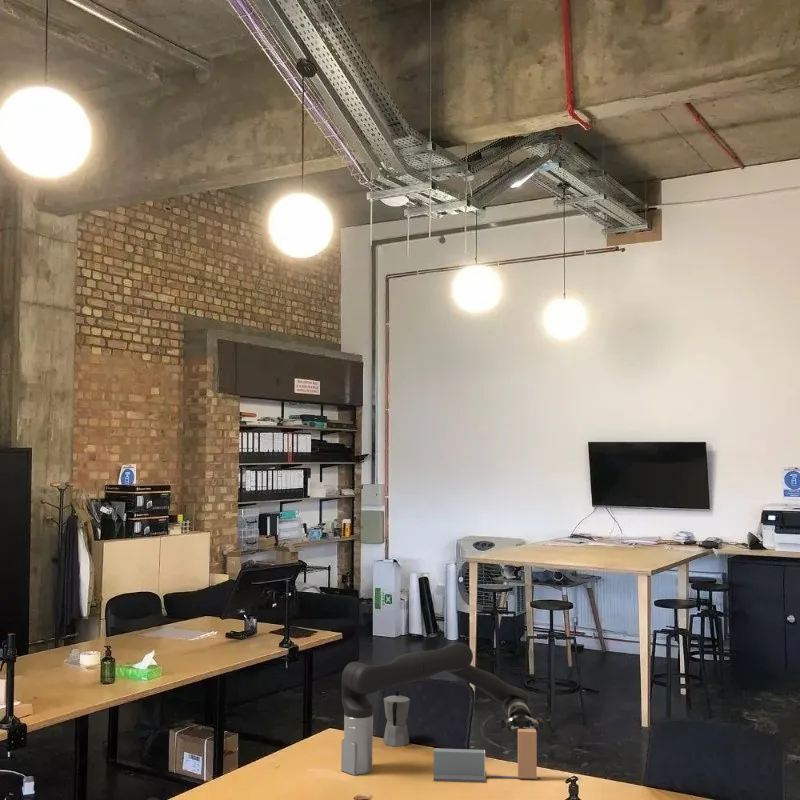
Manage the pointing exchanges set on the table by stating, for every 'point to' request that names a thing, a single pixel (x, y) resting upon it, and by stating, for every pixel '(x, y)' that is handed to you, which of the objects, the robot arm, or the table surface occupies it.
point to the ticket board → (462, 766)
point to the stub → (527, 753)
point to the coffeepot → (396, 720)
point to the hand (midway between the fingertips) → (523, 729)
